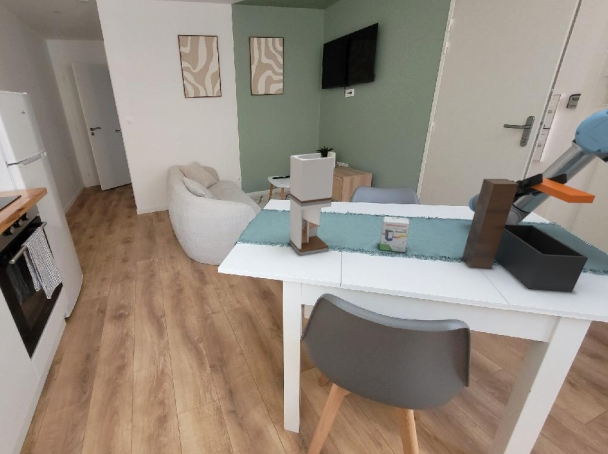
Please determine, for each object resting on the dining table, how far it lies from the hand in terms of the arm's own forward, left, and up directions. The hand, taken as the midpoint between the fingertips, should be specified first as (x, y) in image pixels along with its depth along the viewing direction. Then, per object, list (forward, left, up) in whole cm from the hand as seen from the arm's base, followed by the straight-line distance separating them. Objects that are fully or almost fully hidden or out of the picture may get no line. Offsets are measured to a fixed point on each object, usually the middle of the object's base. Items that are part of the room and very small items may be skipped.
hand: (552, 178), depth 83 cm
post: (+7, +10, -29) cm, 32 cm away
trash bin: (-2, +1, -29) cm, 29 cm away
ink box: (+27, +26, -29) cm, 48 cm away
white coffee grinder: (+42, +53, -29) cm, 74 cm away
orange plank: (-2, +1, -4) cm, 4 cm away
